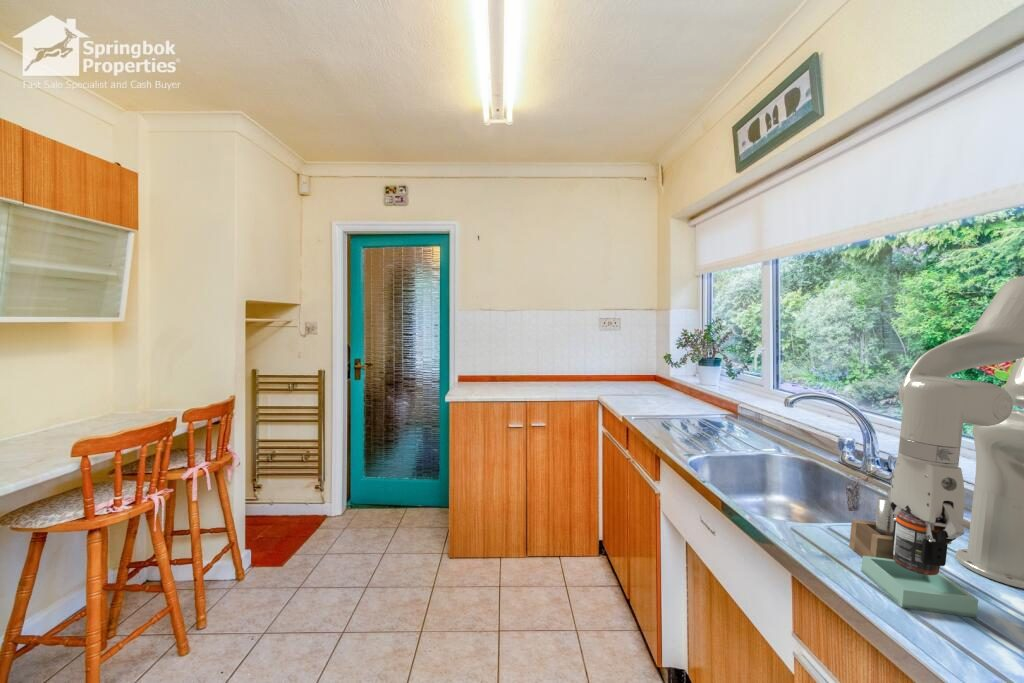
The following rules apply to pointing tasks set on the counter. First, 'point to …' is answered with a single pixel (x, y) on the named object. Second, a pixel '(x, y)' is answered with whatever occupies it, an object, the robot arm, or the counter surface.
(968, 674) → the counter surface
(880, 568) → the tray
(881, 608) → the counter surface
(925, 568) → the supplement bottle
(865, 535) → the bore block
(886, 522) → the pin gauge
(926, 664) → the counter surface
